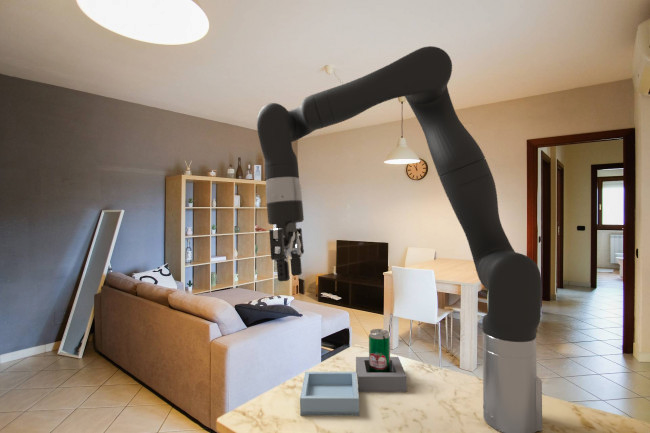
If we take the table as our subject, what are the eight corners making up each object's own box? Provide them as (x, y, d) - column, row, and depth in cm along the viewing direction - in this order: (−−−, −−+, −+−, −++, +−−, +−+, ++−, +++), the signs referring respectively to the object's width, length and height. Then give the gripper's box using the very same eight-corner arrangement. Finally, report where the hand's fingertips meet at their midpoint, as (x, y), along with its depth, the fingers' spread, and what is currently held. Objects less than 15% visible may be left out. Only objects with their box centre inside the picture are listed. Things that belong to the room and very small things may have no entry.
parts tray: (355, 386, 83) (355, 371, 83) (359, 415, 71) (359, 398, 71) (305, 386, 83) (305, 371, 83) (300, 415, 71) (300, 398, 71)
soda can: (366, 383, 84) (366, 333, 84) (372, 374, 89) (371, 327, 89) (387, 387, 82) (387, 336, 82) (392, 377, 87) (391, 329, 87)
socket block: (398, 370, 91) (398, 356, 91) (406, 391, 80) (406, 376, 80) (356, 370, 91) (355, 356, 91) (358, 391, 80) (358, 376, 80)
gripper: (290, 196, 66) (297, 282, 66) (310, 201, 80) (316, 272, 79) (253, 200, 68) (260, 284, 67) (279, 204, 82) (285, 274, 81)
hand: (290, 277), depth 73 cm, fingers open, 8 cm apart
